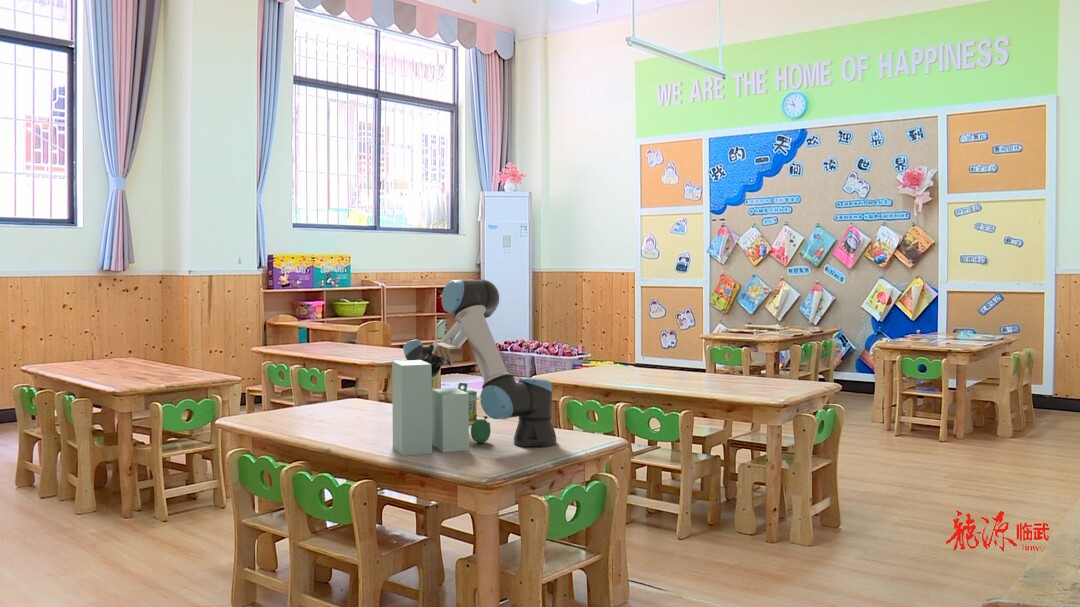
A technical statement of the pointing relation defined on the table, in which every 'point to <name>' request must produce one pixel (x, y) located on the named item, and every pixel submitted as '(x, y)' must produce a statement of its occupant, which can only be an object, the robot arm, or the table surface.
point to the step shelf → (426, 412)
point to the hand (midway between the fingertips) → (443, 342)
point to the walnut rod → (448, 352)
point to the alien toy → (480, 430)
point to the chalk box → (470, 400)
